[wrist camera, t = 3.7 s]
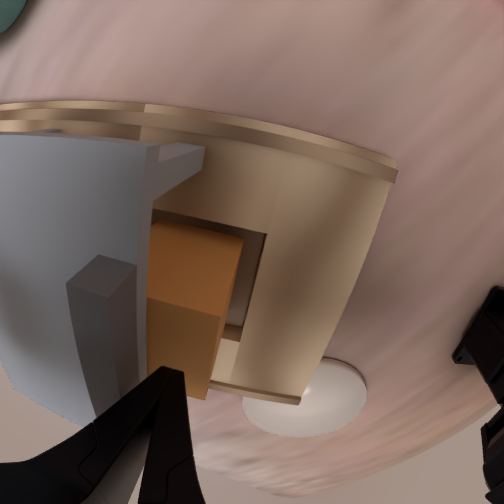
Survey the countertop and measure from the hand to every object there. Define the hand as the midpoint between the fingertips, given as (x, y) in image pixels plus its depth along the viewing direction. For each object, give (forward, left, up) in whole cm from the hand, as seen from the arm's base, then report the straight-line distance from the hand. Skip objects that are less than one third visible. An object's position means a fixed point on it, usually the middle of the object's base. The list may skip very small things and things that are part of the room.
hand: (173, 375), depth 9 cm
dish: (-8, +9, -8) cm, 14 cm away
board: (+7, 0, -8) cm, 10 cm away
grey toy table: (+6, 0, -6) cm, 8 cm away
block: (+1, 0, -8) cm, 8 cm away
